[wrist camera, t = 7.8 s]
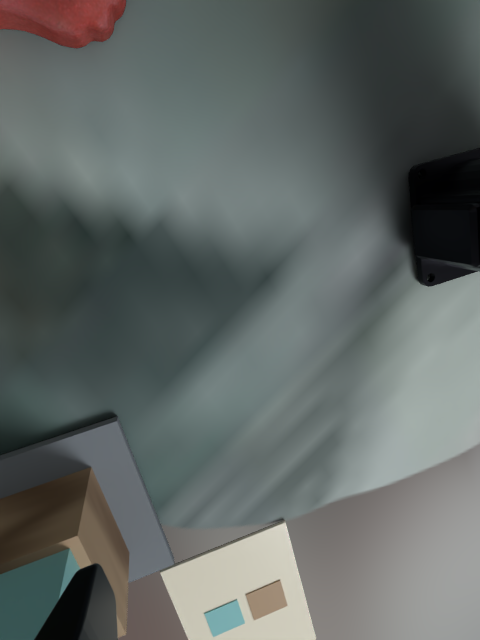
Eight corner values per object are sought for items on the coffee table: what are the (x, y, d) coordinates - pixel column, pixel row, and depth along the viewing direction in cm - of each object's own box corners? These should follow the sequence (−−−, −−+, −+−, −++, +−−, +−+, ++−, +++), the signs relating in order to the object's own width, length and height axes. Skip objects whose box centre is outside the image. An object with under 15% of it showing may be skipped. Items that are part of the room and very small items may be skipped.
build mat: (117, 416, 20) (116, 421, 20) (173, 557, 23) (174, 564, 23) (-91, 485, 19) (-98, 493, 18) (-1, 626, 22) (-4, 636, 21)
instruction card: (284, 519, 25) (285, 523, 24) (315, 636, 28) (316, 639, 28) (159, 569, 23) (160, 573, 23) (208, 684, 27) (208, 689, 27)
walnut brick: (91, 466, 20) (77, 535, 16) (129, 552, 22) (126, 634, 18) (-33, 510, 19) (-82, 595, 15) (19, 595, 21) (-12, 692, 17)
